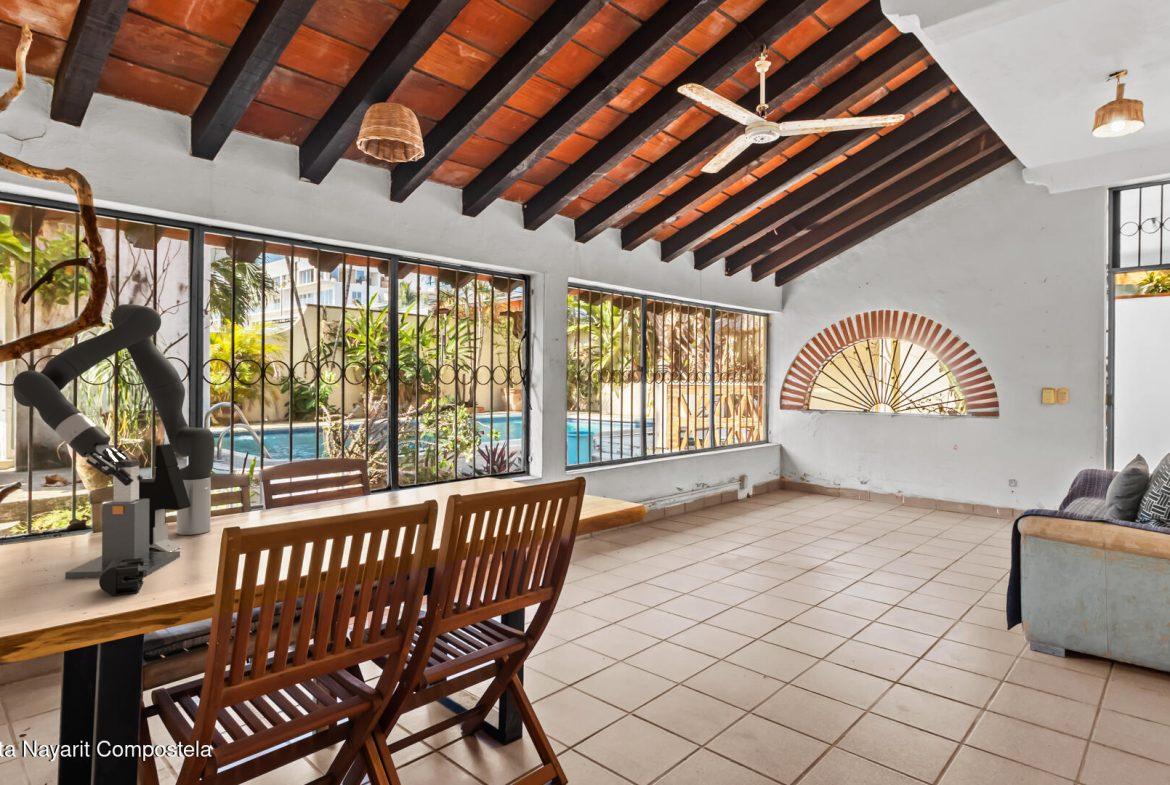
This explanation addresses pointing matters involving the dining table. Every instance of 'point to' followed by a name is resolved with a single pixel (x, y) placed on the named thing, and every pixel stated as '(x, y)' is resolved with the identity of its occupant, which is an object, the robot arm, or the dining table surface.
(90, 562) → the stand
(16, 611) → the dining table surface
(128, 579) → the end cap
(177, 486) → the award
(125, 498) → the column
